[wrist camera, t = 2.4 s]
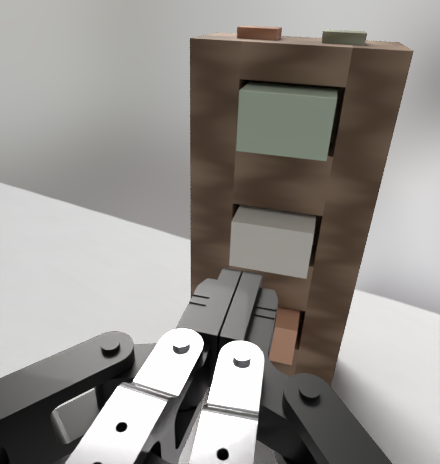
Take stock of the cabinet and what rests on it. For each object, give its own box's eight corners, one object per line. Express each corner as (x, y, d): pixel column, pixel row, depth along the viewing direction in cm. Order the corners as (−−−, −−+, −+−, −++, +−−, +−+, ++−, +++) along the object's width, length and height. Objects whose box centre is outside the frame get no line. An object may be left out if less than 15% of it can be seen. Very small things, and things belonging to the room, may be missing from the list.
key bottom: (224, 350, 31) (226, 317, 30) (233, 323, 34) (235, 291, 32) (291, 365, 30) (297, 331, 29) (295, 335, 33) (300, 303, 31)
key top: (235, 150, 24) (239, 90, 22) (246, 136, 26) (250, 81, 25) (326, 161, 23) (337, 98, 21) (327, 144, 25) (337, 88, 24)
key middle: (229, 265, 27) (231, 221, 26) (239, 242, 30) (241, 201, 28) (306, 278, 26) (314, 233, 25) (309, 253, 29) (316, 211, 27)
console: (191, 369, 36) (190, 26, 23) (209, 324, 42) (217, 22, 28) (326, 400, 34) (416, 38, 20) (328, 349, 39) (401, 31, 25)
